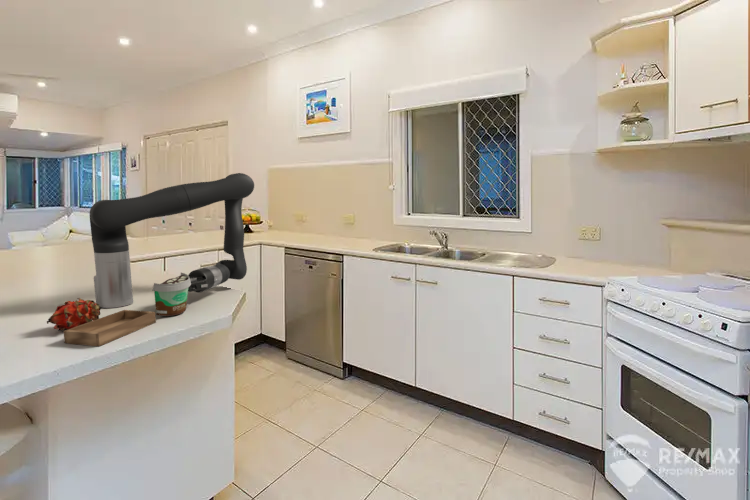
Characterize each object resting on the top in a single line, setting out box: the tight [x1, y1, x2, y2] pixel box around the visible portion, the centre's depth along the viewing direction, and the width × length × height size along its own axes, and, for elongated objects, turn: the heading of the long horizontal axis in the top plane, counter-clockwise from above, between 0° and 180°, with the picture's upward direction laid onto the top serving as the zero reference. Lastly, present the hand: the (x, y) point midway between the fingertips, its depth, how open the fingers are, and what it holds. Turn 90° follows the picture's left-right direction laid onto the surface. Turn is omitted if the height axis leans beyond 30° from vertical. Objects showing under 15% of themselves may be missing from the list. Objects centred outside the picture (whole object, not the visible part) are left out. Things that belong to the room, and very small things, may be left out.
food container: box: [152, 272, 191, 317], centre depth 116 cm, size 12×6×10 cm, turn 168°
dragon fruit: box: [46, 297, 102, 332], centre depth 103 cm, size 8×8×12 cm
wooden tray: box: [62, 309, 157, 347], centre depth 101 cm, size 10×18×3 cm, turn 169°
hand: (169, 290), depth 116 cm, fingers closed on food container, 1 cm apart
